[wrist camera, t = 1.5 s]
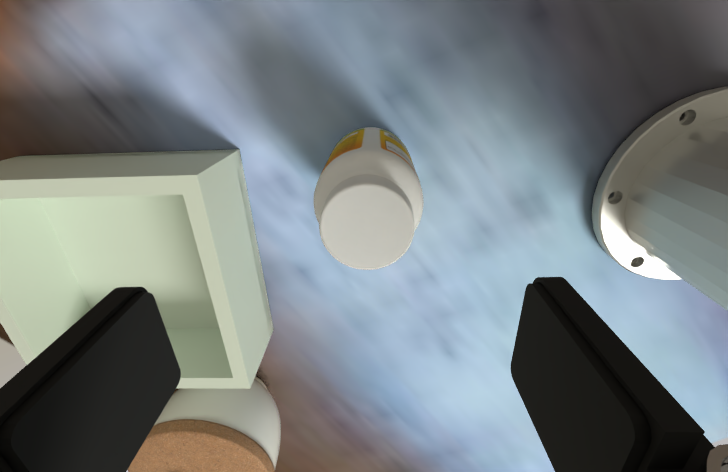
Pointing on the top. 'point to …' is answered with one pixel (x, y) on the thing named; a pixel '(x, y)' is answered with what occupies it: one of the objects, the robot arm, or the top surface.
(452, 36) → the top surface
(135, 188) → the bin
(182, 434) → the lidded jar
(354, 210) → the supplement bottle
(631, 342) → the top surface
